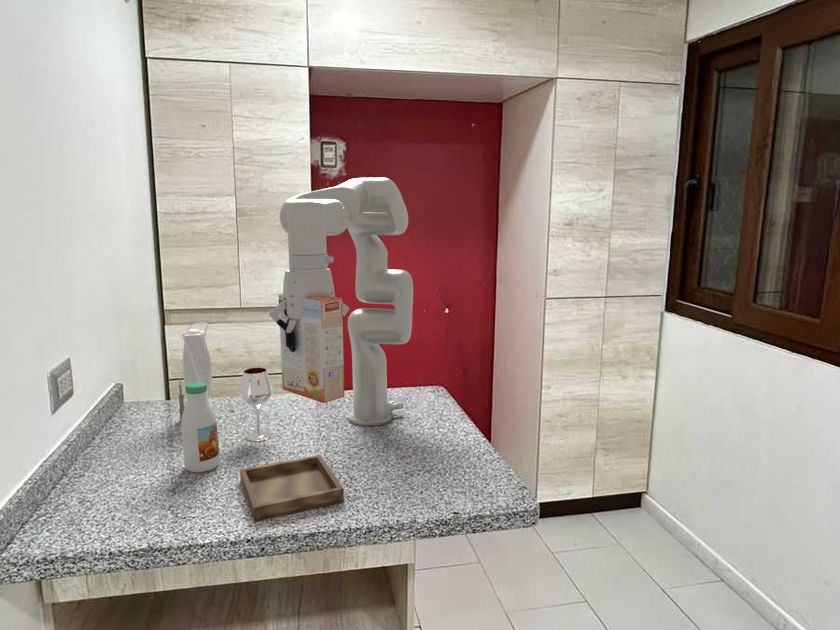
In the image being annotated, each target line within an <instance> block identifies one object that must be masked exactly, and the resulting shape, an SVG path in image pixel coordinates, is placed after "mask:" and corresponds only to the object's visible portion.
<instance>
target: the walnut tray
mask: <svg viewBox="0 0 840 630" xmlns="http://www.w3.org/2000/svg"><path fill="white" fill-rule="evenodd" d="M239 473H240V474H239V475H240V483H241V486H242V490H243V492H244V495H245V498H246V501H247V505H248V508H249V510H250V514H251V516H252V519H253V520H252V521H253V522H254V523H257V522H261V521H267V520H269V519H275V518H279V517H280V518H281V517H283V516H287V515H292V514H293V515H294V514H297V513H302V512H307V511H311V510H315V509H320V508H325V507H329V506H333V505H337V504H342V503H345V500H344V498H345V497H344V496H345V494H344V488H343V486H342V485H341V483H340V481H339V480H338V479H337V477H336V476H335V474H334V473H333V471H332V470H331V468H330V466H329V465H328V464H327V462H326V461H325V459H324V458H323V456H322V455H321V454H317V455H311V456H307V457H301V458H295V459H290V460H285V461H284V460H283V461H279V462H274V463H268V464H263V465H256V466H252V467H251V466H250V467H247V468H242V469H241V468H240V469H239Z"/></svg>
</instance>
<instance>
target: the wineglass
mask: <svg viewBox="0 0 840 630" xmlns="http://www.w3.org/2000/svg"><path fill="white" fill-rule="evenodd" d="M267 369H268V368H265V367H250V368H247V369H245V370H243V372H242V377H241V381H240V388H239V395H240V399H242V401H243V402H244V403H245V404H247V405H248V406H250V407H251V408H252V409H254V411H255V416H256V431H254V432H251V433H250V432H249V433H248V434H247V435H246V436H245V438H246V440H247V441H250V442H263V441H266V440H269V439H271V437H272V433H271V432H269V431H267V430H261V420H260V417H261V416H260V410H261V408H263V407H264V405H266V404H267V403H268V402H269V401H270V399H271V398H272V396H273V393H274V390H273V386H272V385H273V384H272V381H271V378H270V376H269V373H268V370H267Z"/></svg>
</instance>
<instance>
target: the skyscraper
mask: <svg viewBox="0 0 840 630" xmlns="http://www.w3.org/2000/svg"><path fill="white" fill-rule="evenodd" d="M197 325H205V328H204V330H200V329H199V328H192V327H194V326H197ZM208 326H209V323H208V322H206V321H202V322H201V321H199V322H194V323H192V324H191V325H189V327H188V328H187V330H186V332H184V333H183V334H182V336H181V337H182V340H183V342H184V343H183V352H182V377H183V383H184V387H186V385H187V384H189V383H193V382H205V383H206V384H207V393H206V395H207V399H208V401H209V402H210V395H211V391H212V382H213V381H212V380H213V379H212V378H213V369H212V368H213V367H212V366H213V365H212V360H211V355H210V351H209V349H208V345H207V342H206V340H205V339H206V335H207V331H208ZM191 328H192V329H191ZM181 379H182V378H179V379H178V381H179V384H178V388H179V393H178V403H179V409H178V410H179V419H180V420H178V422H179V423H181V420H182V414H183V411H184V409H185V406H186V404H185V394H184V392H183V384H181V383H182V382H181V381H182V380H181Z"/></svg>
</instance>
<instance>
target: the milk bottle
mask: <svg viewBox="0 0 840 630" xmlns="http://www.w3.org/2000/svg"><path fill="white" fill-rule="evenodd" d="M184 387H185V386H184ZM206 393H207V384H206V383H205V382H193V383H189V384H187V385H186V387H185V395H186V397H187V398H186V404H185V409H184V411H183V414H182V420H181V422H180V424H181V437H182V438H181V440H182V451H183V463H184V468H185V470H186V471H187V472H190V473H205V472H209V471H213V470H214V469H216V468H217V467H218V466H219V465H220V461H221V460H220V459H221V458H220V447H219V434H218V433H219V432H218V425H217V424H218V423H217V416H216V412H215V410H214V408H213V407H212V404H211V403H210V400H209V401H208V399H207V395H206Z"/></svg>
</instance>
